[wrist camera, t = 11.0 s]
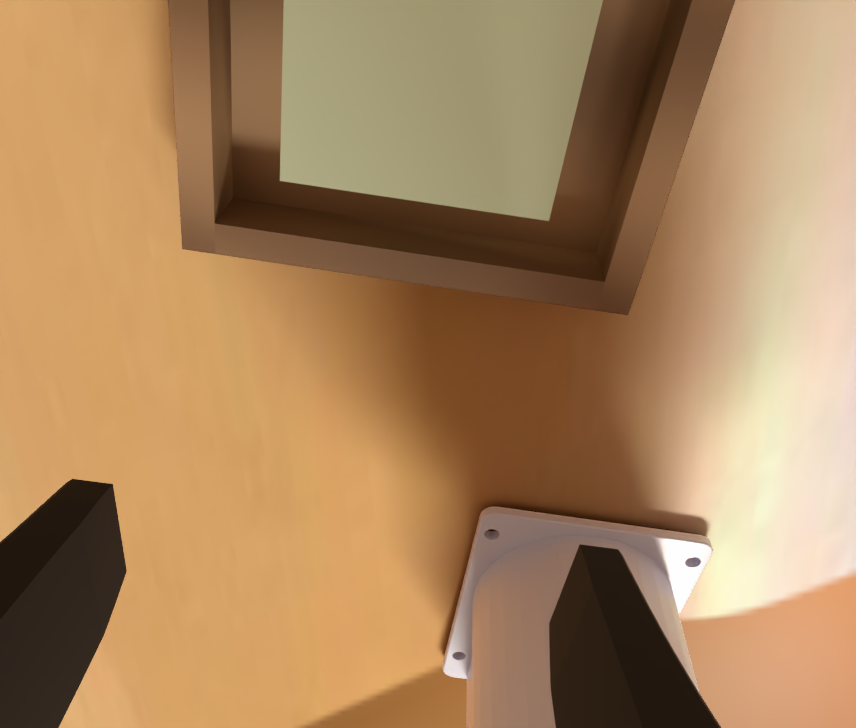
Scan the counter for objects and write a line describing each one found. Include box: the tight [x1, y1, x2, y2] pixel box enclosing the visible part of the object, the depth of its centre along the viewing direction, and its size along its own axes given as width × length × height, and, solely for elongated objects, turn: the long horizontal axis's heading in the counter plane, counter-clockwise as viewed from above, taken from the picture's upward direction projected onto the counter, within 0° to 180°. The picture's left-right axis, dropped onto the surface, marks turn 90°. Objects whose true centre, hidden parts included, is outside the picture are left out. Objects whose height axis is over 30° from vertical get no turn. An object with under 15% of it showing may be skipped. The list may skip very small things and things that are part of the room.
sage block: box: [280, 0, 603, 221], centre depth 13 cm, size 4×4×6 cm
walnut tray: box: [168, 0, 735, 315], centre depth 16 cm, size 12×11×2 cm
